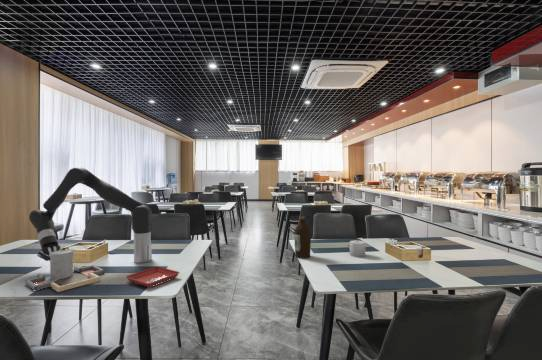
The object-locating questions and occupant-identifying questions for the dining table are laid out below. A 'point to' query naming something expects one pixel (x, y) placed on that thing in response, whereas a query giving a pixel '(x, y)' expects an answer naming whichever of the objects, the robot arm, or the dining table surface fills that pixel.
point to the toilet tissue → (357, 248)
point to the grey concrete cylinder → (61, 264)
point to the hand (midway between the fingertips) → (55, 265)
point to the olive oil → (302, 239)
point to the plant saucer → (152, 276)
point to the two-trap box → (88, 271)
